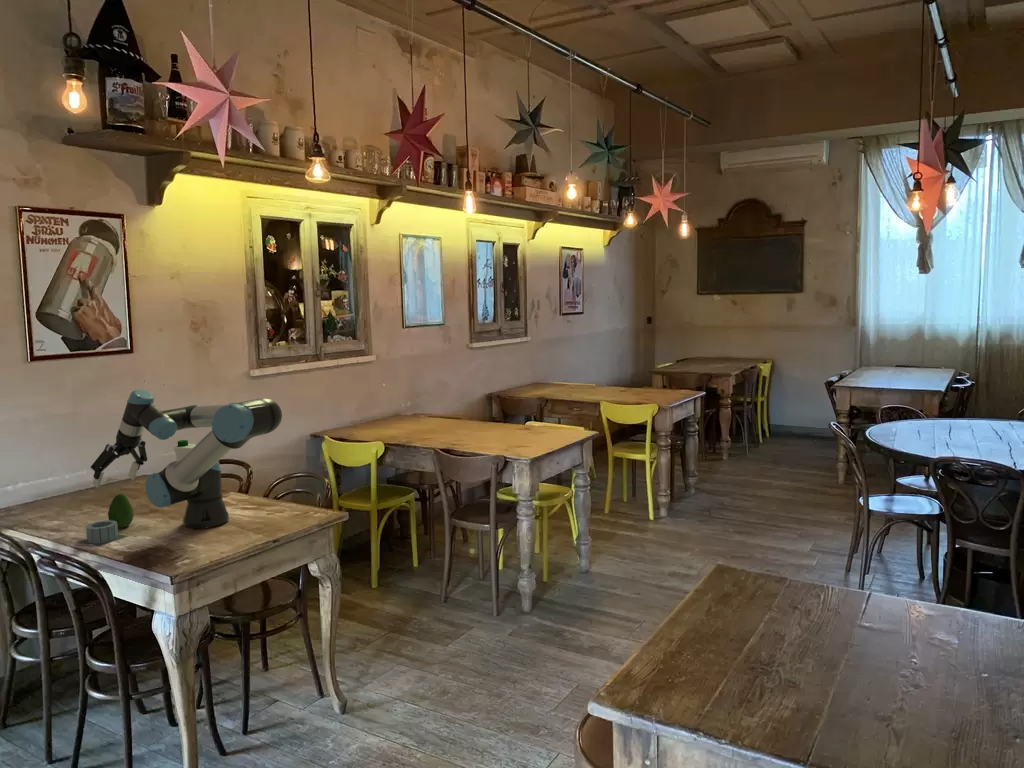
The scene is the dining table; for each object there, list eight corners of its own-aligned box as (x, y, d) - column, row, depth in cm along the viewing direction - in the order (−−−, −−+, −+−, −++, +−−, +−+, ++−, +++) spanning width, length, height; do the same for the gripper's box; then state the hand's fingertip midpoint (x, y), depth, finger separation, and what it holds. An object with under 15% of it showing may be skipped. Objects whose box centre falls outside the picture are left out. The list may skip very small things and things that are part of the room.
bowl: (124, 536, 250) (123, 522, 249) (100, 544, 242) (98, 530, 241) (105, 533, 253) (104, 519, 253) (81, 541, 245) (79, 526, 245)
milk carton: (186, 484, 320) (183, 438, 317) (206, 485, 318) (203, 439, 316) (174, 489, 311) (171, 443, 309) (194, 490, 310) (191, 443, 307)
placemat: (129, 537, 250) (128, 535, 250) (99, 547, 240) (99, 546, 240) (106, 533, 255) (106, 532, 255) (76, 543, 245) (76, 542, 245)
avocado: (131, 522, 266) (128, 490, 265) (137, 527, 260) (134, 494, 259) (106, 527, 261) (103, 494, 260) (112, 532, 255) (109, 498, 254)
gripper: (155, 420, 269) (138, 468, 275) (89, 430, 246) (73, 482, 253) (168, 431, 266) (151, 480, 272) (103, 443, 244) (86, 495, 250)
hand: (113, 481), depth 262 cm, fingers open, 13 cm apart
